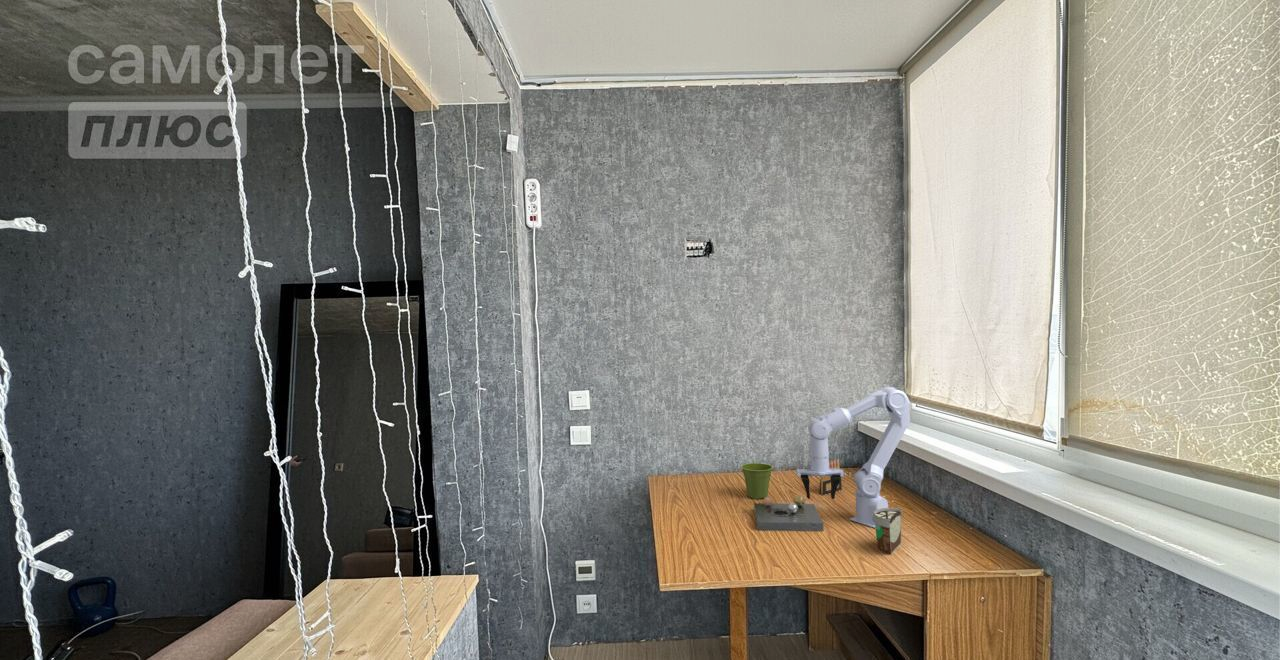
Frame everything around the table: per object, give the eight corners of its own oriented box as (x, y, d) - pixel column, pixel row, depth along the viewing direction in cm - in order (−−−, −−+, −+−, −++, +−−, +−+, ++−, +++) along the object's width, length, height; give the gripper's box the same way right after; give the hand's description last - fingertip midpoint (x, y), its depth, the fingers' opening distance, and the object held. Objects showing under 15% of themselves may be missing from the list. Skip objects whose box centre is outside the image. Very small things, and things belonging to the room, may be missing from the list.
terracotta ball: (774, 506, 201) (774, 497, 201) (767, 507, 200) (767, 499, 200) (768, 503, 204) (767, 495, 204) (761, 505, 202) (761, 496, 202)
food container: (880, 537, 176) (880, 504, 176) (902, 542, 173) (901, 508, 172) (866, 551, 167) (865, 516, 167) (889, 556, 163) (888, 520, 163)
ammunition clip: (823, 495, 219) (822, 463, 219) (819, 494, 221) (818, 462, 220) (842, 489, 225) (841, 458, 225) (837, 488, 227) (837, 457, 226)
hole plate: (813, 511, 202) (813, 503, 202) (823, 531, 183) (823, 523, 183) (754, 510, 205) (754, 503, 205) (758, 530, 186) (757, 522, 186)
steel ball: (800, 513, 193) (799, 503, 193) (793, 515, 192) (793, 505, 191) (792, 510, 196) (792, 500, 196) (786, 512, 194) (785, 502, 194)
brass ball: (807, 506, 200) (807, 495, 200) (799, 508, 198) (799, 497, 198) (799, 503, 203) (798, 493, 203) (791, 505, 201) (791, 495, 201)
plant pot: (777, 501, 214) (776, 470, 214) (744, 501, 215) (743, 471, 214) (770, 491, 226) (769, 462, 226) (739, 492, 227) (738, 463, 226)
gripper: (798, 459, 189) (799, 501, 189) (845, 459, 187) (846, 502, 188) (795, 454, 196) (796, 494, 196) (840, 454, 194) (841, 495, 195)
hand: (820, 497), depth 192 cm, fingers open, 7 cm apart
